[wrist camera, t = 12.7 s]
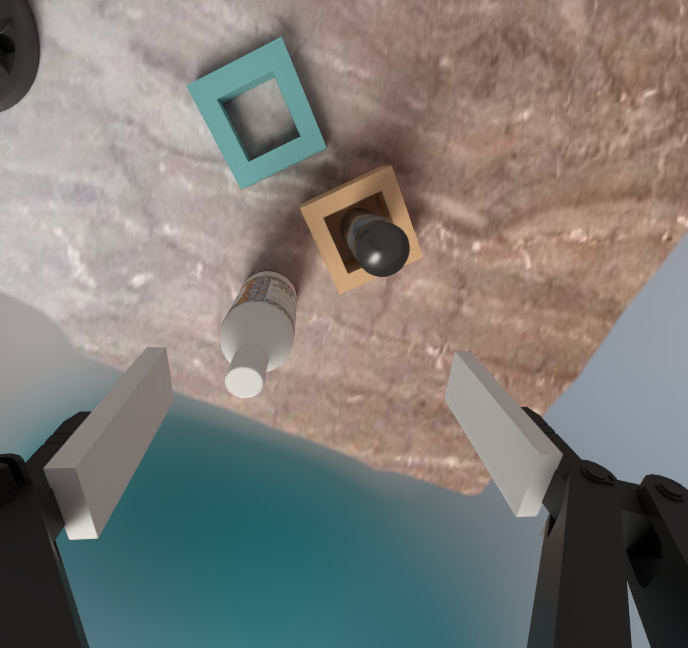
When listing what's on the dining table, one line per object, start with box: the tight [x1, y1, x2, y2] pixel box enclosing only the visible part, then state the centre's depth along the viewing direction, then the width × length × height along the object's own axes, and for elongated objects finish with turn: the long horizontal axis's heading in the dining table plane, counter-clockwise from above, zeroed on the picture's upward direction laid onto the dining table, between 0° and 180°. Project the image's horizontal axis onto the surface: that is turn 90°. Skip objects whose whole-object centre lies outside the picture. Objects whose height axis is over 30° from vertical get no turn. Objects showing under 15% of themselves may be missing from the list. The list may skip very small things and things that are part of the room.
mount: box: [187, 37, 327, 189], centre depth 36 cm, size 10×10×2 cm
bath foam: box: [220, 271, 297, 398], centre depth 36 cm, size 7×7×20 cm
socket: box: [300, 165, 423, 294], centre depth 40 cm, size 10×10×6 cm
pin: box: [340, 208, 410, 277], centre depth 35 cm, size 4×4×14 cm
